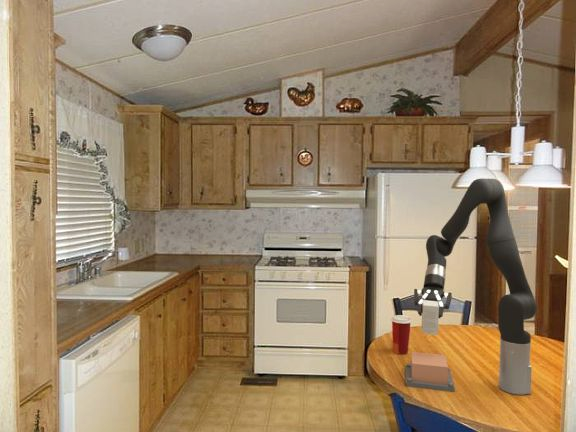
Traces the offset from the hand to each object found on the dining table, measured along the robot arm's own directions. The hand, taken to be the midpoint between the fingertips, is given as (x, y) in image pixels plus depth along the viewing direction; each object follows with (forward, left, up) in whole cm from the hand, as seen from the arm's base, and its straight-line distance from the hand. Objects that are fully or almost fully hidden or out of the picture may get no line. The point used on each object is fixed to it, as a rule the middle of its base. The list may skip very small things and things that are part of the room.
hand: (429, 315), depth 161 cm
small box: (0, 0, -6) cm, 6 cm away
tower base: (0, +4, -22) cm, 23 cm away
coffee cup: (+10, -22, -22) cm, 33 cm away
